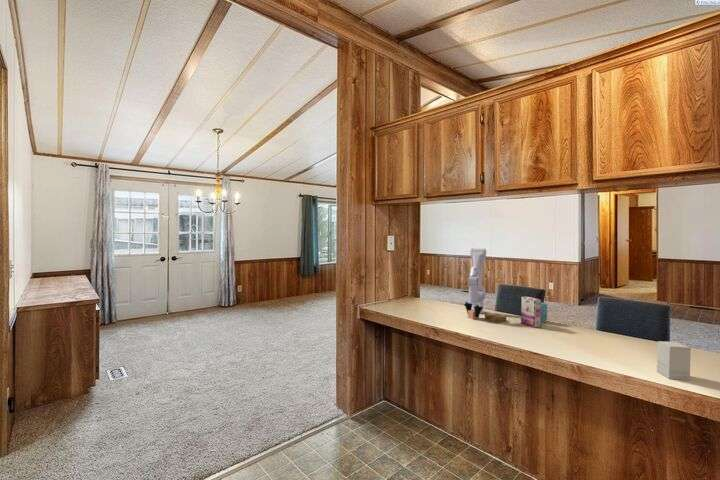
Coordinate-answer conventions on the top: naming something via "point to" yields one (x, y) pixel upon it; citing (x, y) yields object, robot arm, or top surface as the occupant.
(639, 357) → the top surface
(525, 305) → the candy bar box
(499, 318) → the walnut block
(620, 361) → the top surface
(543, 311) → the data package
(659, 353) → the supplement box
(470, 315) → the terracotta block
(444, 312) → the top surface
